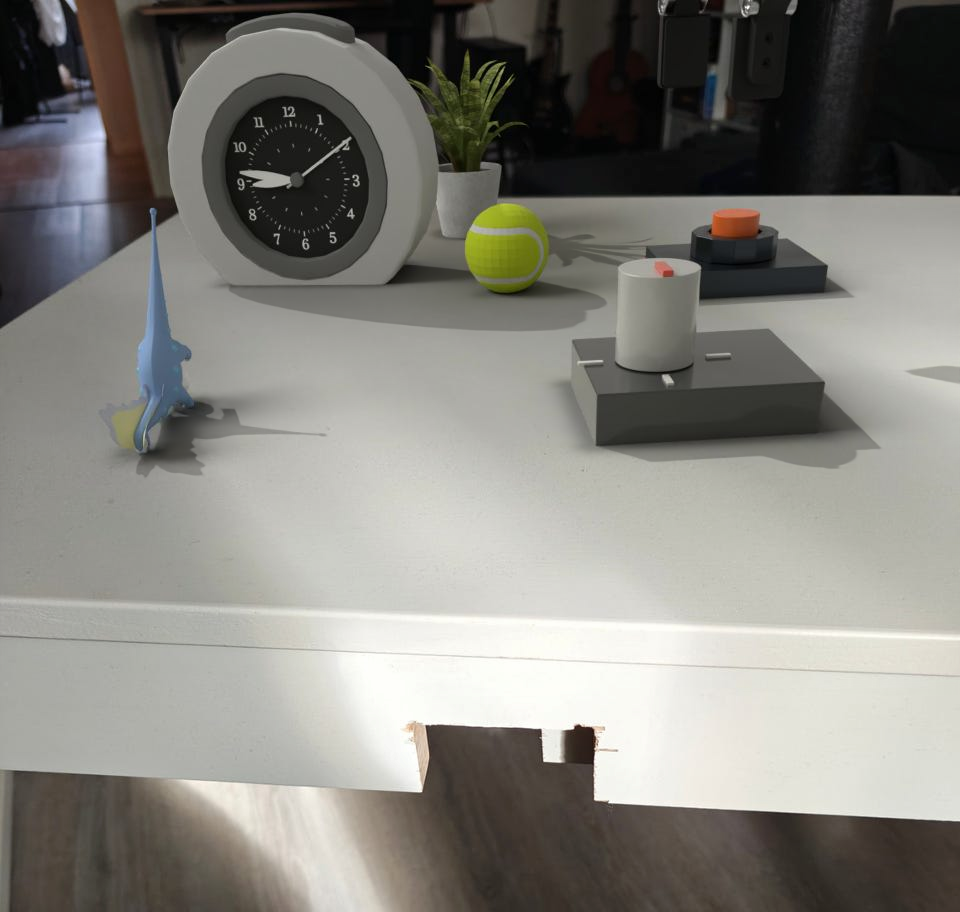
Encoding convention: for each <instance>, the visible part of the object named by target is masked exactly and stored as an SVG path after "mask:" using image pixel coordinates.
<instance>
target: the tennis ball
mask: <svg viewBox="0 0 960 912" xmlns="http://www.w3.org/2000/svg"><path fill="white" fill-rule="evenodd" d="M547 233H548V232H547V231H546V229H545V226H544V225H543V222H542V221H541V219H540V218H539V217H538V215H536V214H535V213H533V211H532V210H530V209H528V208H527V207H525V206H523V205H519V204H515V203H497V205H495V206H492V207H490V208H488V209H486V210H485V211H483V212H482V213H481V214H480V215H479V216H477V217H476V219H475V220H474V222H473V224H472V226H471V228H470V229H469V231H468V233H467V237H466V238H465V241H464V256H465V261H466V263H467V266H468V269H469V271H470V273H471V274H472V275H473V277H474V278H475V280H476V281H477V283H479V284H480V285H481V286H483V287H484V288H486V289H488V290H490V291H492V292H495V293H500V294H513V293H517V292H521V291H523V290H525V289H527V288H529V287H530V286H532V285H533V284H534V283H535V282H536V281H537V280H538V279H539V278H540V276H541V275H542V273H543V271H544V270H545V267H546V266H547V262H548V258H549V253H550V251H549V250H550V245H549V237H548V234H547Z"/></svg>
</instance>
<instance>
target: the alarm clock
mask: <svg viewBox="0 0 960 912" xmlns="http://www.w3.org/2000/svg"><path fill="white" fill-rule="evenodd" d="M355 34H356V33H355V28H354V27H353V26H352V25H351V24H349V23H348V22H346V21H343V20H341V19H338V18H334V17H331V16H326V15H321V14H317V13H306V12H305V13H304V12H288V13H280V14H279V13H278V14H270V15H264V16H260V17H257V18H253V19H249V20H246V21H244V22H242V23H240V24H237V25H235V26H233V27H231V28H230V29H229V30H228V31H227V32H226V33H225V39H226V40H225V42H226V44H224V45H223V46H221V47H220V48H218V49H216V50H215V51H213V52H211V53H210V54H209V55H208V56H207V58H206V59H205V60H204V61H203V62H202V63H201V64H200V66H199V67H198V68H197V69H196V70H195V71H194V73H192V75H191V76H190V77H189V78H188V80H187V82H186V84H185V86H184V89H183V90H182V92H181V95H180V96H179V99H178V101H177V103H176V105H175V107H174V110H173V112H172V120H171V126H170V131H169V132H170V133H169V137H168V143H167V154H168V171H169V183H170V187H171V191H172V194H173V197H174V201H175V204H176V207H177V211H178V214H179V217H180V221H181V222H182V224H183V226H184V227H185V229H186V231H187V232H188V234H189V237H190V238H191V240H192V241H193V243H194V245H195V247H196V249H197V251H198V253H200V255H201V256H202V257H203V258H204V259H205V260H206V262H207V263H208V264H209V265H210V266H211V267H212V268H213V269H214V270H215V271H216V272H217V274H218V275H219V276H220V277H221V278H222V279H223V280H224V281H226V282H227V283H228V284H230V285H231V286H365V285H368V286H370V285H371V286H373V285H376V286H377V285H379V286H381V285H386V284H387V283H389V281H391V280H392V279H393V278H394V277H395V276H396V275H397V274H398V272H399V271H400V270H401V269H402V267H404V265H405V264H406V263H407V262H408V261H409V259H410V258H411V257H412V255H413V253H414V252H415V250H416V249H417V247H418V246H419V244H420V243H421V242H422V240H423V238H424V237H425V236H426V233H427V232H428V228H429V225H430V222H431V219H432V217H433V213H434V209H435V208H436V201H437V188H438V172H439V165H440V164H439V158H438V151H437V150H436V149H437V147H436V143H435V140H436V139H435V138H434V136H435V134H434V129H432V127H431V125H430V122H429V120H428V118H427V115H426V114H427V112H426V111H425V109H424V106H423V104H422V101H421V99H420V97H419V94H418V93H417V92H415V91H416V90H415V89H414V88H413V87H412V86H411V85H412V84H411V83H408V81H409V80H408V79H406V78H405V76H404V75H403V73H402V72H401V71H400V69H399V68H398V66H397V65H395V64H394V63H393V62H392V61H390V60H389V59H388V58H387V57H386V56H384V55H383V54H382V53H381V52H380V51H379V50H378V49H376V48H374V47H373V46H372V45H371V44H370V43H368V42H367V41H364V40H362V39H360V38H357V37H356V35H355ZM414 90H415V91H414ZM434 139H435V140H434Z"/></svg>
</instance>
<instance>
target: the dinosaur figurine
mask: <svg viewBox="0 0 960 912" xmlns="http://www.w3.org/2000/svg"><path fill="white" fill-rule="evenodd" d="M157 213H158V211H157V209H156V208H155V207H151V208H150V209H149V214H150V217H151V256H150V270H149V271H150V272H149V273H150V274H149V286H148V299H147V313H146V326H145V330H144V331H145V335H144V337H143V339H142V341H141V342H140V344H139V345H138V348H137V368H136V373H137V378H138V384H139V393H140V396H139V397H138V400H131V405H129V404H125V403H120V406H118V405H115V404H112V403H111V402H107V403H106V408H105V409H99V410H98V414H99V416H100V418H101V420H102V421H103V422H104V423H105V425H106V426H107V427H108V429H109V436H110V438H111V440H112V441H113V443H115V444H116V445H118V446H119V447H122V448H124V449H126V450H134V451H135V452H136V453H137V454H141V455H143V454H147V453H148V452H150V451H149V450H150V449H151V439H150V436H149V432H150V431H151V429H152V428H154V426H156V425H157V424H158V423H160V422H162V421H163V420H165V419H166V418H168V416H169V415H170V414H171V413H172V412H173V411H174V409H175V408H176V406H177V405H178V404H183V405H182V408H186V409H190V408H194V407H195V401H194V399H193V397H192V396H191V395H190V393H189V392H188V391H189V387H190V383H191V379H190V374H189V373H188V372H187V370H186V369H185V368H184V366H182V362H187V363H188V362H190V361H191V359H192V355H193V353H192V350H191V349H190V348H189V347H188V346H187V345H186V344H184V343H183V344H182V343H181V342H180V341H178V340H176V339H174V338H172V333H171V332H172V329H171V327H170V324H169V323H170V322H169V318H168V317H169V314H168V311H167V304H166V302H167V301H166V297H165V291H164V284H163V278H162V277H163V276H162V271H161V264H160V256H159V247H158V238H157V237H158V236H157V224H156V221H157V220H156V215H157Z"/></svg>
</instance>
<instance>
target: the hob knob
mask: <svg viewBox="0 0 960 912" xmlns="http://www.w3.org/2000/svg"><path fill="white" fill-rule="evenodd" d="M616 279H617V280H616V281H617V283H616V284H617V285H616V287H617V288H616V308H615V309H616V310H615V313H616V315H615V337H616V340H615V361H616V363H617V364H619V365H620V366H622V367H625V368H628V369H632V370H637V371H644V372H666V371H674V370H679V369H683V368H685V367H688V366H690V365H691V364H692V363H693V362H694V359H695V346H696V333H697V332H698V330H697V329H698V317H699V306H700V305H699V304H700V299H699V294H700V281H701V266H700V265H699V264H697V263H694V262H691V261H687V260H682V259H673V258H649V259H646V258H640V259H634V260H629V261H626V262H623V263H622V264H620V265H618V267H617V278H616Z"/></svg>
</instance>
